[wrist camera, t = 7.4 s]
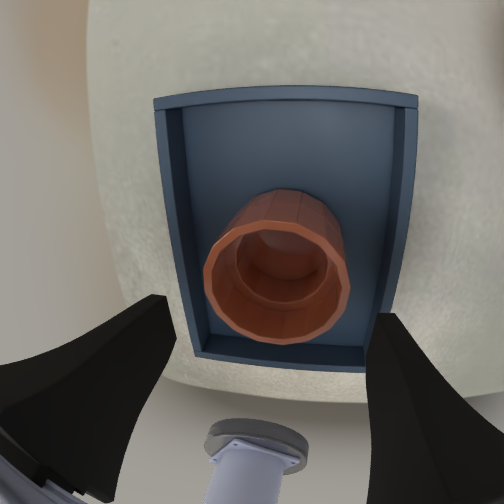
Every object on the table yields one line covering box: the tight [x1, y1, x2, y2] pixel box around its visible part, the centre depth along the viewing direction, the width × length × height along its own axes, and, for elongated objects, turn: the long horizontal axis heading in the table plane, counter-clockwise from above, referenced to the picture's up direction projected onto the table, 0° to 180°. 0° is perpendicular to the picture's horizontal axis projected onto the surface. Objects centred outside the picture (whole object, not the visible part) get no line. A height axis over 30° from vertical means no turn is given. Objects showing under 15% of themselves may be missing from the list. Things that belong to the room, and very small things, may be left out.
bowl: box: [203, 189, 351, 345], centre depth 13 cm, size 6×6×4 cm
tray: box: [153, 85, 418, 373], centre depth 15 cm, size 15×11×2 cm
